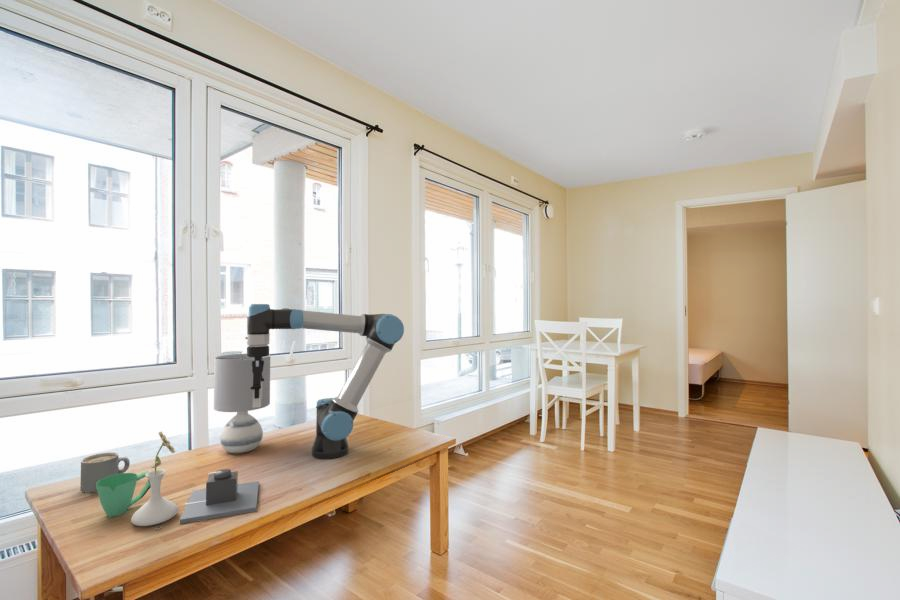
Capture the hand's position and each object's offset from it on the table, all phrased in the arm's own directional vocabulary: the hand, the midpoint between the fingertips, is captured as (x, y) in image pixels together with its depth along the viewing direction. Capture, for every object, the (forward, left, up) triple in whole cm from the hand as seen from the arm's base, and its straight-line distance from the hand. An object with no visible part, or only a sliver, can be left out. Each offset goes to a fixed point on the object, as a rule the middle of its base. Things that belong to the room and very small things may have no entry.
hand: (257, 402), depth 154 cm
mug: (+36, +13, -27) cm, 47 cm away
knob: (+9, +19, -26) cm, 33 cm away
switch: (+9, +19, -27) cm, 34 cm away
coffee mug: (+48, -10, -27) cm, 56 cm away
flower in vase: (+26, +23, -27) cm, 44 cm away
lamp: (+7, -31, -27) cm, 42 cm away
